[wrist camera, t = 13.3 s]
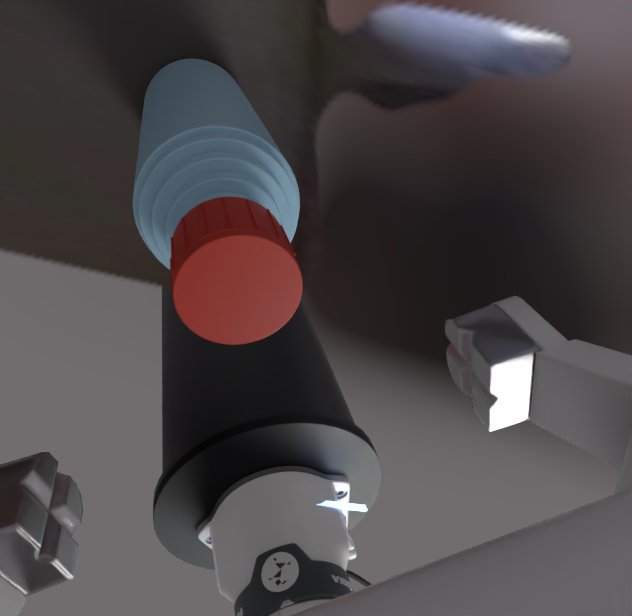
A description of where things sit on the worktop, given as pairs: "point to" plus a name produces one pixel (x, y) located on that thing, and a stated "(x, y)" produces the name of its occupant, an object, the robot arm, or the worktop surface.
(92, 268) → the worktop surface
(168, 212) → the bottle
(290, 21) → the worktop surface
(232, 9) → the worktop surface
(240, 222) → the cap
